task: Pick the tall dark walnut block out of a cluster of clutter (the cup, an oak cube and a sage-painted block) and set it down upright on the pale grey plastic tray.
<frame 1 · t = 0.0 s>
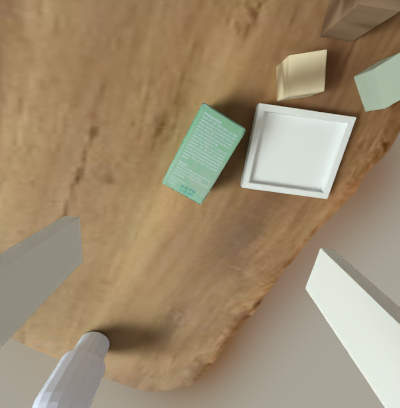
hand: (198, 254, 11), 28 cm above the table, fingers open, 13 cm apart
tray: (291, 153, 36), on the table
walnut block: (342, 19, 30), on the table
soap bottle: (96, 339, 53), on the table
sage block: (371, 87, 33), on the table
box: (202, 152, 37), on the table
oak block: (292, 82, 33), on the table
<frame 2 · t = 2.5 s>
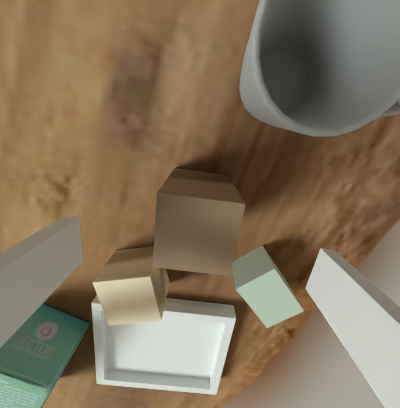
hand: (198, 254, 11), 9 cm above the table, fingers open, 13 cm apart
tray: (163, 339, 26), on the table
walnut block: (198, 196, 20), on the table
cup: (285, 91, 17), on the table
sage block: (259, 272, 23), on the table
box: (49, 339, 27), on the table
oak block: (143, 266, 23), on the table
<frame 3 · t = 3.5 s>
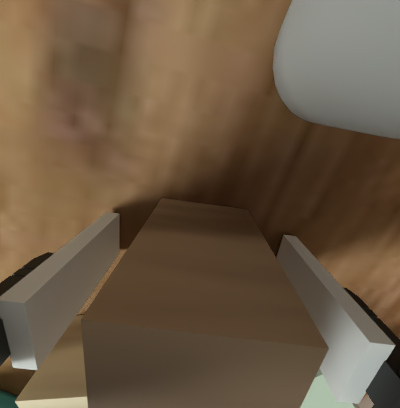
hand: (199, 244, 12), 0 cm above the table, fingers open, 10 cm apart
walnut block: (199, 241, 12), on the table
cup: (353, 69, 9), on the table
sage block: (289, 345, 15), on the table
oak block: (118, 336, 15), on the table
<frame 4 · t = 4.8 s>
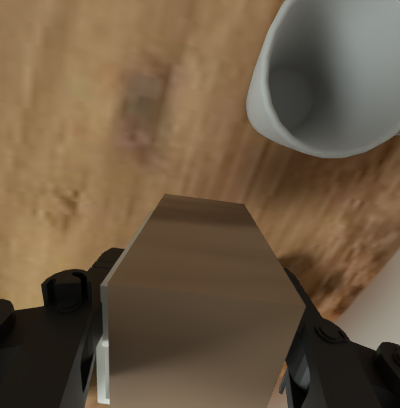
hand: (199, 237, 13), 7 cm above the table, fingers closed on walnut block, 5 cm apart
tray: (166, 356, 25), on the table
walnut block: (199, 234, 13), point 6 cm above the table, touching gripper
cup: (292, 109, 17), on the table
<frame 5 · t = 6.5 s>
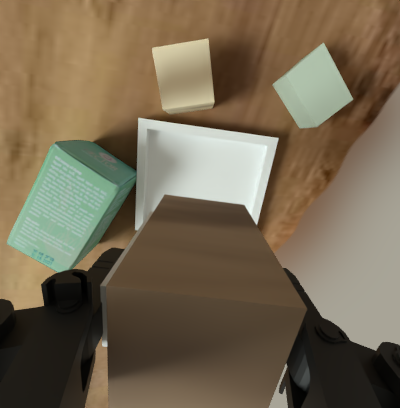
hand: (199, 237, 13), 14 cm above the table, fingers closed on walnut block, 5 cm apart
tray: (201, 184, 27), on the table
walnut block: (199, 235, 13), point 14 cm above the table, touching gripper
sage block: (300, 95, 23), on the table
box: (96, 195, 28), on the table
oak block: (188, 88, 23), on the table
when the fingers open (2 cm above the table, at t = 8.6 s): walnut block stays where it is, resting on tray.
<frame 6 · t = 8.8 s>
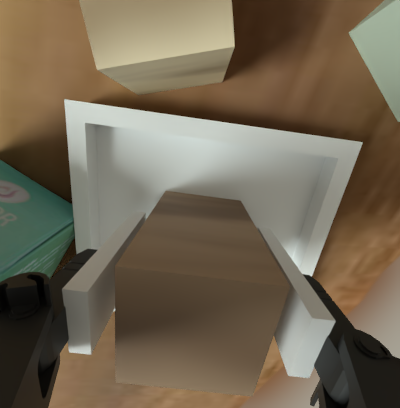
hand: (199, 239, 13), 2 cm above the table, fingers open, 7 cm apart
tray: (199, 225, 15), on the table
walnut block: (198, 229, 14), point 1 cm above the table, touching tray
box: (15, 246, 16), on the table
oak block: (172, 38, 11), on the table
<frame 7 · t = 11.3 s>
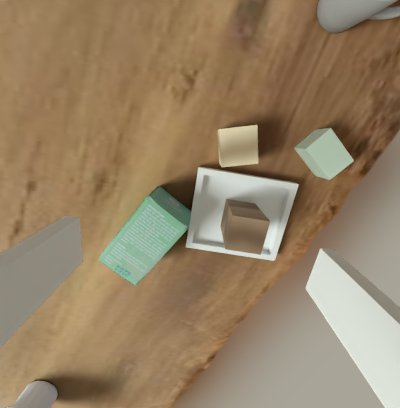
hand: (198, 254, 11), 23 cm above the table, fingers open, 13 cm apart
tray: (237, 213, 35), on the table
walnut block: (237, 214, 35), point 1 cm above the table, touching tray
cup: (344, 13, 27), on the table
soap bottle: (44, 388, 50), on the table
sage block: (315, 153, 32), on the table
box: (154, 223, 36), on the table
oak block: (233, 146, 32), on the table
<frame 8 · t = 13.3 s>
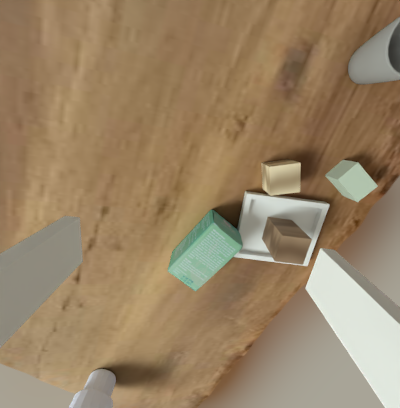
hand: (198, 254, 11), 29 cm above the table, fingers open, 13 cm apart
tray: (276, 228, 42), on the table
walnut block: (276, 229, 41), point 1 cm above the table, touching tray
cup: (370, 68, 33), on the table
soap bottle: (104, 375, 58), on the table
sage block: (342, 178, 39), on the table
box: (204, 238, 43), on the table
oak block: (275, 174, 38), on the table
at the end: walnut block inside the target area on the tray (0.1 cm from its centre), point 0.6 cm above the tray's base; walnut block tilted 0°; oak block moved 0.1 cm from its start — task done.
